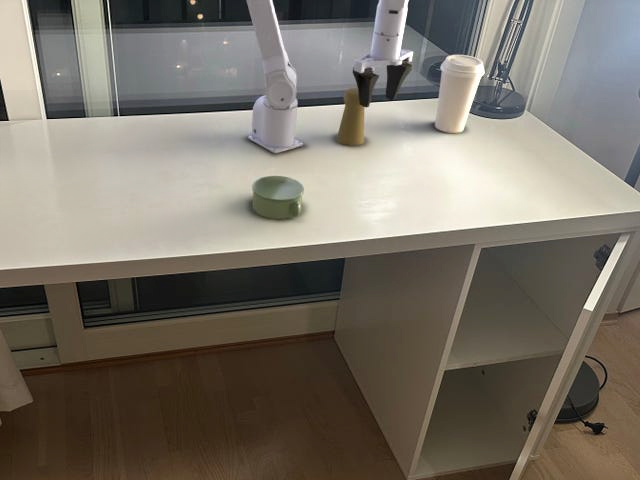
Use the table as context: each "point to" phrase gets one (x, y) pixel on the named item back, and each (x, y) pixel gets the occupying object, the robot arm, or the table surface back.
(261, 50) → the robot arm
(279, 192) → the upturned mug
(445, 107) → the coffee cup
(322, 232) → the table surface
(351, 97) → the brown pawn
